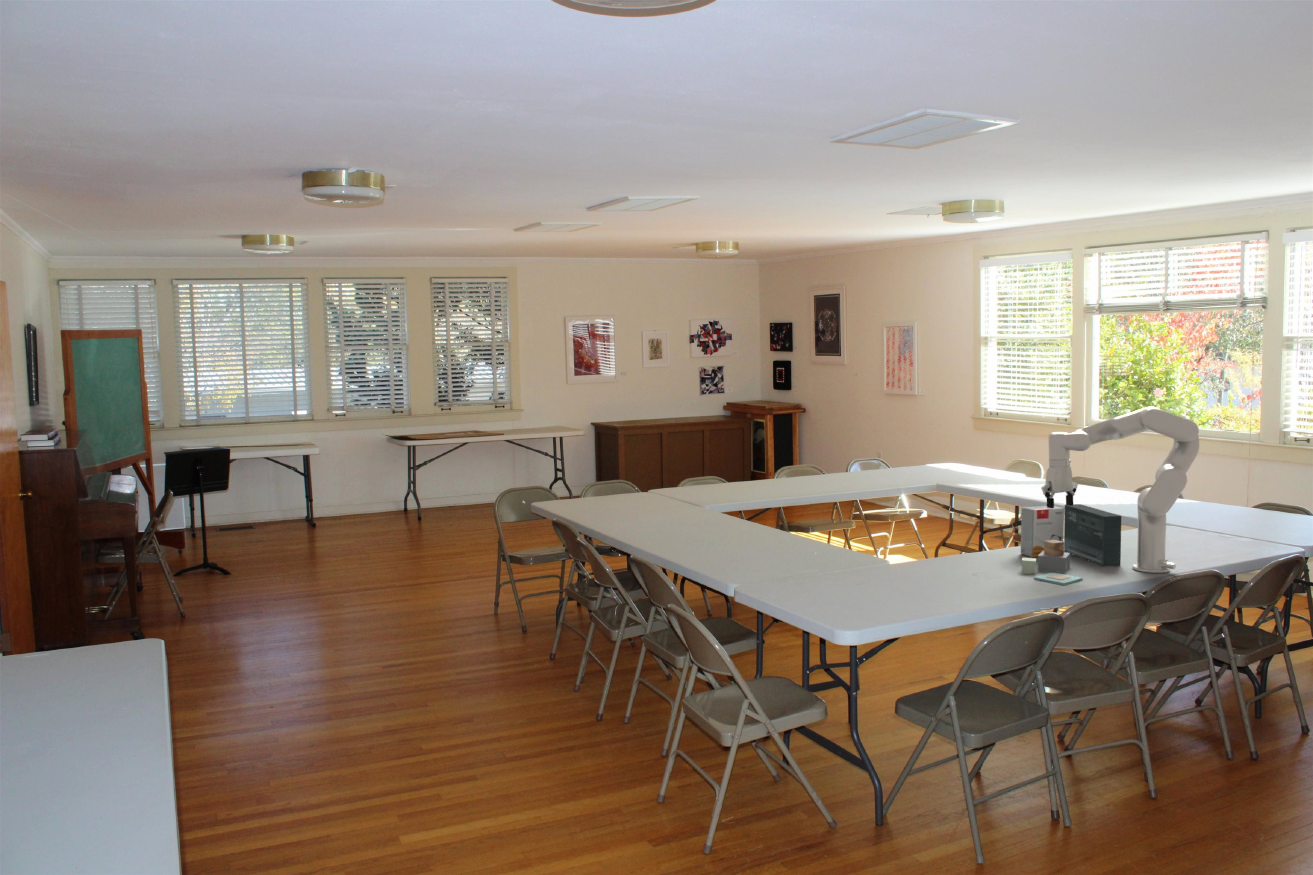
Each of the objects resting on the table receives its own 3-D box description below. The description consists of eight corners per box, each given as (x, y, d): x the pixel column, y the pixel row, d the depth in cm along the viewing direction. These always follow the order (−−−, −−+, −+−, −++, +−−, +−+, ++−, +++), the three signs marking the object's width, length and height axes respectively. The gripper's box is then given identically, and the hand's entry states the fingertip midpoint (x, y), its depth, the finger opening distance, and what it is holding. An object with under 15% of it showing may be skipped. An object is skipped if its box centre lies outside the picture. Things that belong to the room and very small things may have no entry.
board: (1082, 579, 343) (1082, 577, 342) (1064, 585, 336) (1064, 582, 336) (1052, 574, 352) (1052, 571, 352) (1034, 579, 345) (1034, 576, 345)
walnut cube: (1054, 552, 364) (1054, 539, 364) (1063, 554, 359) (1064, 542, 359) (1044, 553, 363) (1044, 540, 362) (1053, 555, 358) (1053, 543, 357)
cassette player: (1120, 566, 363) (1121, 515, 361) (1103, 566, 362) (1104, 516, 361) (1079, 550, 392) (1080, 504, 390) (1064, 551, 391) (1064, 504, 389)
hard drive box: (1031, 557, 381) (1032, 510, 379) (1019, 554, 388) (1020, 507, 386) (1063, 554, 385) (1064, 507, 383) (1051, 551, 392) (1051, 504, 390)
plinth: (1069, 567, 363) (1070, 552, 362) (1065, 573, 354) (1065, 557, 354) (1042, 565, 368) (1042, 550, 368) (1037, 570, 360) (1038, 555, 359)
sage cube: (1035, 571, 358) (1036, 558, 358) (1035, 573, 354) (1035, 561, 353) (1022, 570, 360) (1022, 557, 360) (1021, 573, 356) (1021, 560, 355)
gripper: (1069, 460, 370) (1069, 503, 371) (1034, 464, 364) (1035, 507, 365) (1083, 462, 363) (1084, 505, 364) (1049, 466, 357) (1050, 510, 358)
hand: (1060, 506), depth 365 cm, fingers open, 9 cm apart
